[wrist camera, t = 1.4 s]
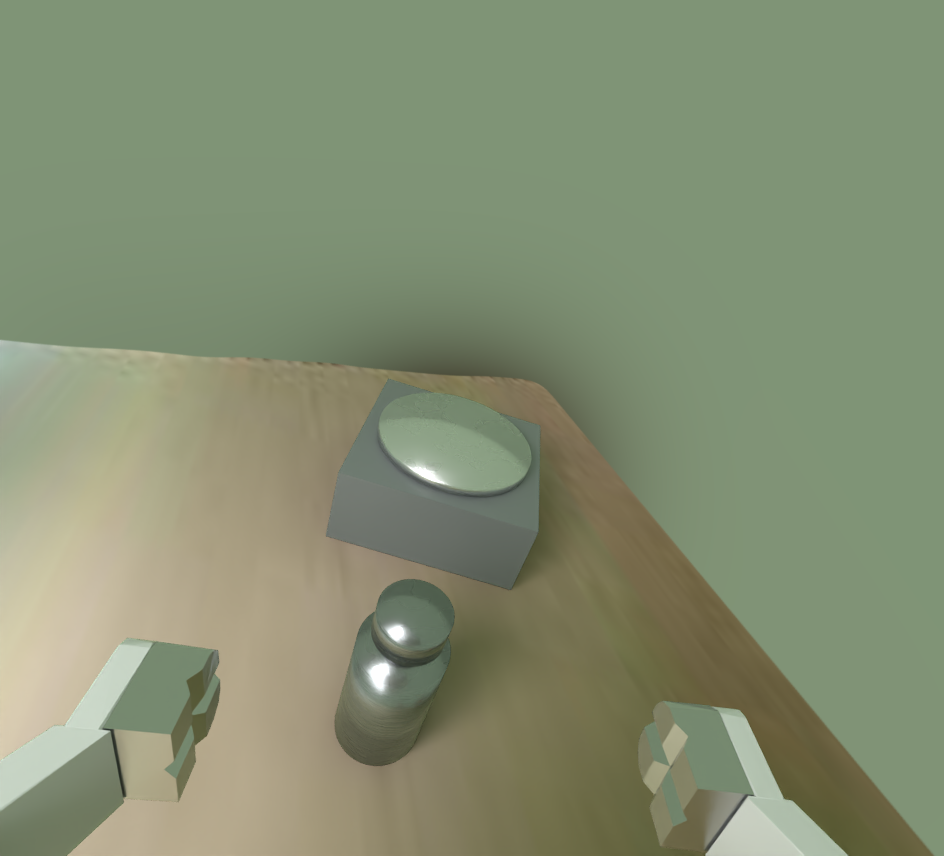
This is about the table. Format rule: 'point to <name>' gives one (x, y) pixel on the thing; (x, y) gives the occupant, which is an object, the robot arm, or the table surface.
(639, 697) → the table surface
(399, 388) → the scale base
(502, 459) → the scale pan
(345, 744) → the calibration weight
